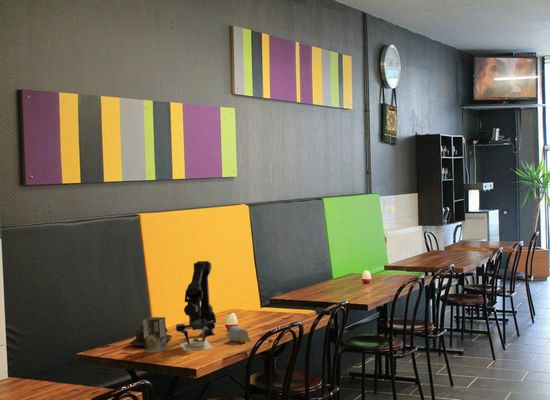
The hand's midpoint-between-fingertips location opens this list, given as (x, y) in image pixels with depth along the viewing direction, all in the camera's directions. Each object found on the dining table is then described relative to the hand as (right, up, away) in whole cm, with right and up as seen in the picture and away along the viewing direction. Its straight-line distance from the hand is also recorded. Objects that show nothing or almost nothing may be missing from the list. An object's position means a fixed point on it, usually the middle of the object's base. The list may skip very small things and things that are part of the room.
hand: (195, 343), depth 365 cm
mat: (0, -1, 0) cm, 1 cm away
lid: (0, -1, 0) cm, 1 cm away
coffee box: (-19, -2, -7) cm, 20 cm away
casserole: (-24, -2, +11) cm, 26 cm away
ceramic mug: (+22, -1, +8) cm, 23 cm away
